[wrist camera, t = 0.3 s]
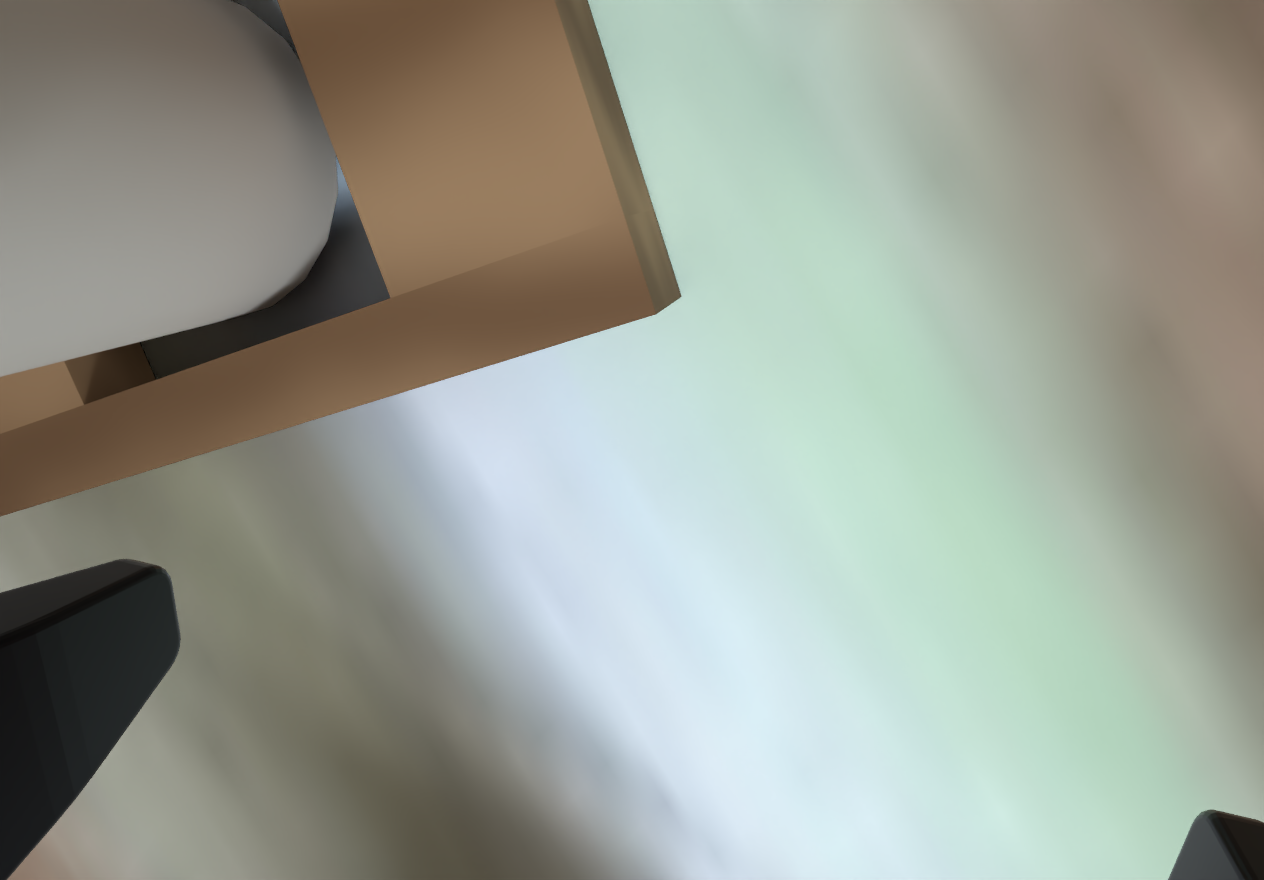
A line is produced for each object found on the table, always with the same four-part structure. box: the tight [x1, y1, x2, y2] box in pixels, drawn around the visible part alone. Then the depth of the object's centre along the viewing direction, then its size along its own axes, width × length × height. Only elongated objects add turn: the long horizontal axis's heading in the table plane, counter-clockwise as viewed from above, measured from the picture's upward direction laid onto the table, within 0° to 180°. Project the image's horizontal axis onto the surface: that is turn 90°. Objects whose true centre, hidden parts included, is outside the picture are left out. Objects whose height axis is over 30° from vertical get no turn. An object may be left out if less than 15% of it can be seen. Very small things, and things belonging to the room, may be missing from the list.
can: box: [0, 0, 338, 377], centre depth 18 cm, size 8×8×12 cm
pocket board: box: [0, 0, 681, 516], centre depth 22 cm, size 14×20×2 cm
